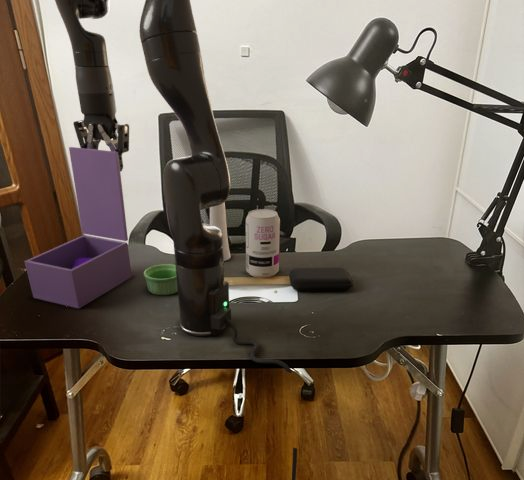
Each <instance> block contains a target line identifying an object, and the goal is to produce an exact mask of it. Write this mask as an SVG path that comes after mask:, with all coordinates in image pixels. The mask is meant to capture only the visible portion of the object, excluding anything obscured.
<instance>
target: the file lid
mask: <svg viewBox="0 0 524 480" xmlns="http://www.w3.org/2000/svg"><path fill="white" fill-rule="evenodd" d="M68 151H69V156H70V165H71V169H72V177H73V183H74V188H75V195H76V202H77V209H78V215H79V221H80V227H81V233H82V235H88V236H93V237H99V238H105V239H110V240H116V241H122V242H128V241H129V237H128V228H127V227H128V226H127V220H126V219H127V217H126V210H125V202H124V191H123V185H122V184H123V183H122V175H121V172H120V165H119V156H118V152H114V151H111V150H106V149H105V150H104V149H98V150H95V149H85V148H81V147H75V146H70V147H69V146H68Z"/></svg>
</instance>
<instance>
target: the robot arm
mask: <svg viewBox="0 0 524 480" xmlns="http://www.w3.org/2000/svg"><path fill="white" fill-rule="evenodd" d="M54 2H55V5H56V8H57V10H58V13H59V14H60V17H61V19H62V22H63V24H64V27H65V29H66V33H67V35H68V37H69V41H70V45H71V50H72V57H73V62H74V63H73V64H74V70H75V83H76V90H77V94H78V100H79V107H80V112H81V114H82V115H83V119H81V120H77V121H73V128H74V131H75V134H76V137H77V141H78V145H79V148H85V149H95V150H99V146H100V143H101V141H104V142H105V145H106V146H107V147H108V148H109V151H114V152H118V156H119V165H120V173H121V172H122V171H123V169H124V161H123V154H125V153H128V152H129V151H130V125H129V123H124V124H123V123H120V122H119V121H118V120H117V117H116V114H117V106H116V98H115V90H114V89H115V88H114V82H113V76H112V72H111V68H110V61H109V54H108V45H107V41H106V38H105V37H104V35H102V34H100V33H97V32H92V31H89V30H86V29H85V28H84V27H83V25H82V23H81V22H80V20H101V19H103V18H106V16H108V15H109V13H110V9H111V0H54ZM197 31H198V30H197V27H196V23H195V18H194V14H193V9H192V4H191V0H145V1H144V4H143V8H142V12H141V16H140V21H139V29H138V33H139V39H140V43H141V48H142V53H143V57H144V61H145V65H146V70H147V73H148V77H149V78H150V81H151V82H152V84H153V86H154V87H155V89H156V90H157V92H158V93H159V94H160V96H161V97H162V99H163V100H164V102H166V104H167V105H168V106H169V107H170V109H171V110H172V111H173V113H174V114H175V116H176V117H177V118H178V120H179V121H180V123H181V125H182V128H183V129H184V131H185V135H186V137H187V140H188V144H189V148H190V152H191V155H187V156H182V157H178V158H173V159H170V160H169V161H168V162H167V163H166V165H165V167H164V170H163V174H162V187H163V195H164V202H165V203H164V204H165V210H166V216H167V223H168V228H169V232H170V235H171V237H172V242H173V252H174V265H176V277H177V288H178V292H177V298H178V309H179V324H180V325H179V326H180V327H179V328H180V329H181V331H182V332H184V333H185V334H187V335H189V336H195V337H209V336H210V337H211V336H212V337H217V336H219V334H221V332H222V331H225V329H226V328H227V327H228V326H229V328H230V329H231V330H232V341H233V342H234V343H235V344H236V345H239V346H251V345H252V346H254V347H253V349H252V350H251V351H250V353H249V358H250V360H251V361H252V362H254V363H256V364H261V365H262V364H263V365H277V366H280V367H282V368H283V370H285V372H287V373H288V374H292V372H293V371H292V369H291V368H290V366H289V365H288V364H287V363H285V362H283V361H282V360H279V359H274V358H258V357H256V356H255V355H256V354H257V352H258V350H259V349H260V345H259V343H258V342H257V341H256V340H253V339H251V340H250V339H249V340H240V339H238V329H237V327H236V325H235V324H234V323H233V322H232V309H231V308H230V287H229V285H230V284H229V281H228V280H225V263H224V262H225V261H224V260H223V259H224V258H223V235H222V231H221V230H220V229H219V228H218V227H216V226H213V225H210V223H204V222H203V218H202V210H206V209H210V207H214V206H217V205H220V204H222V203H224V202H227V200H228V198H229V196H230V193H231V177H230V171H229V165H228V162H227V159H226V155H225V151H224V149H223V148H224V147H223V144H222V141H221V137H220V134H219V131H218V127H217V124H216V120H215V117H214V111H213V108H212V103H211V99H210V94H209V89H208V84H207V80H206V75H205V70H204V63H203V57H202V51H201V47H200V42H199V41H200V40H199V36H198V32H197ZM291 463H292V464H291V466H292V467H291V480H297V467H298V465H297V464H298V448H296V447H292V462H291Z"/></svg>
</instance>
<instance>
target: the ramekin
mask: <svg viewBox="0 0 524 480" xmlns="http://www.w3.org/2000/svg"><path fill="white" fill-rule="evenodd" d="M143 276H144V278H145V281H146V285H147V286H146V287H147V290H148V291H149V293H151V294H153V295H156V296H169V295H170V296H171V295H173V294H176V293H178V288H177V277H176V265H175V264H171V263H162V264H155V265H152V266H149V267H147V268H146V269H145V270H144V271H143Z"/></svg>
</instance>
